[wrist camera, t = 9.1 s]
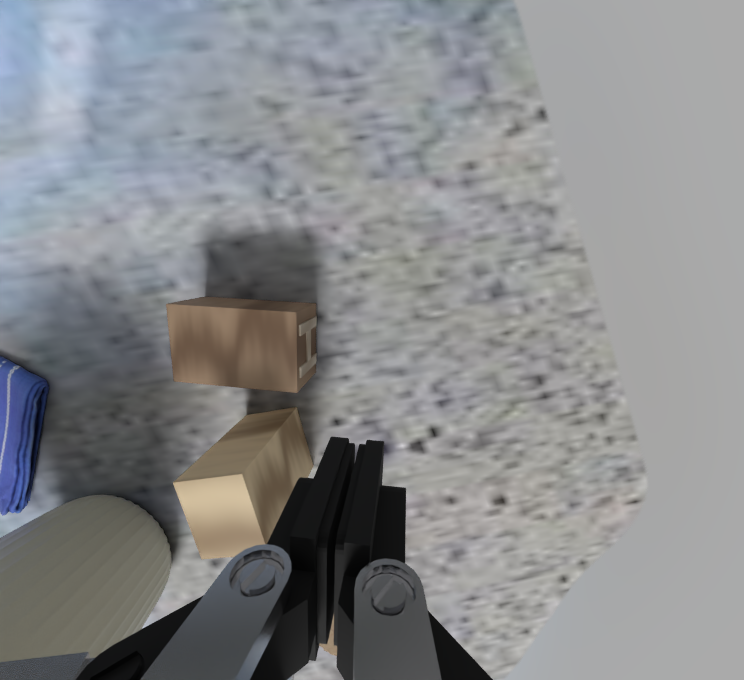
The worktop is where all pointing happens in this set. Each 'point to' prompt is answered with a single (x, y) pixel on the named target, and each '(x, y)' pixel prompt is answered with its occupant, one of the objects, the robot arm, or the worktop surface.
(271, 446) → the oak block
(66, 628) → the canister
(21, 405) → the dish towel
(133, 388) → the worktop surface
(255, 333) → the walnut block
